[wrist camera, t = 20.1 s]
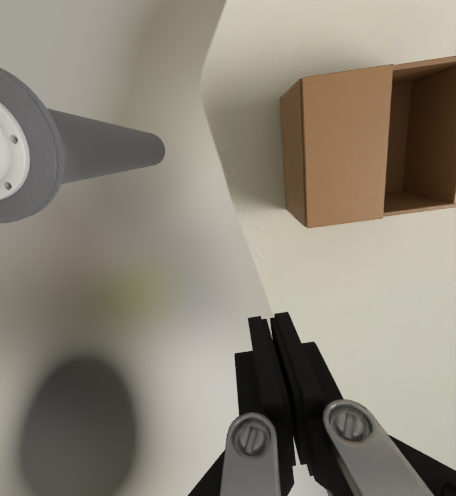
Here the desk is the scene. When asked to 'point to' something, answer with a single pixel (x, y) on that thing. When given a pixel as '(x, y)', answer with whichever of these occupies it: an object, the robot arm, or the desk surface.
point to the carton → (394, 140)
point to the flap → (346, 144)
